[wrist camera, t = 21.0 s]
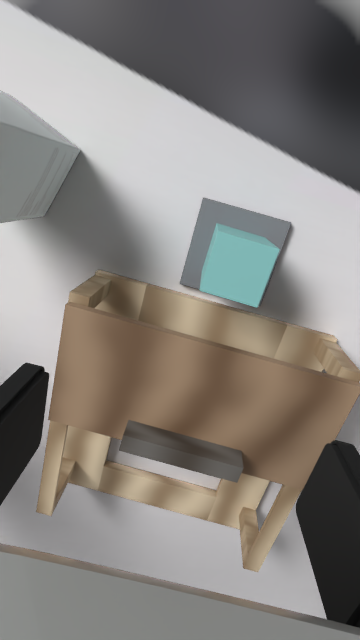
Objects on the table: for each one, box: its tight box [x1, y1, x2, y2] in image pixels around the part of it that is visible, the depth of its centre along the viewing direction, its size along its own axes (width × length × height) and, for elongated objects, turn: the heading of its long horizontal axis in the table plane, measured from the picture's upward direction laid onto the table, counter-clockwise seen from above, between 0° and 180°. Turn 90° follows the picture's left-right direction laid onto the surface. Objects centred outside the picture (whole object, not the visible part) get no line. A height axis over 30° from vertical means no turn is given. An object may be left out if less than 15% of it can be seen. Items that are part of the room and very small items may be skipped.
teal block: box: [200, 223, 280, 308], centre depth 28 cm, size 4×4×7 cm
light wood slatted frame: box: [36, 270, 360, 572], centre depth 35 cm, size 24×27×7 cm
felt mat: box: [180, 198, 291, 306], centre depth 31 cm, size 8×8×1 cm
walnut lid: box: [48, 302, 360, 490], centre depth 27 cm, size 24×11×3 cm, turn 75°
